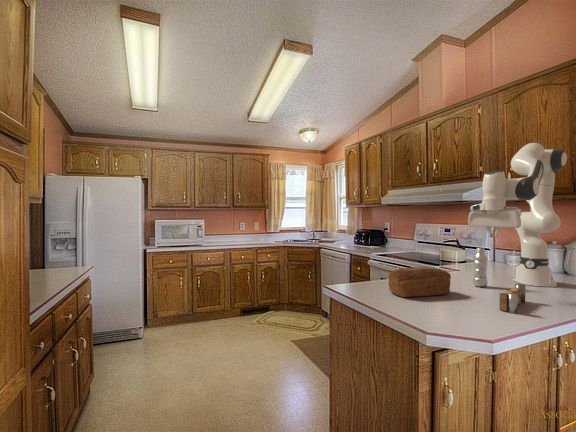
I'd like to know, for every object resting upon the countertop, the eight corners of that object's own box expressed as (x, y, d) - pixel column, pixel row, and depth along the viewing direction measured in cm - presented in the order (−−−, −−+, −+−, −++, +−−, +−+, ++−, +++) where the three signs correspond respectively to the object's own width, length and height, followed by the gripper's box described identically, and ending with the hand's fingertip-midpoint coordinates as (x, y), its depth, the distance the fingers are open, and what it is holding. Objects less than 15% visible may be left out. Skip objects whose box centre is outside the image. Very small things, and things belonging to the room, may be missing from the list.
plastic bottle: (483, 285, 161) (483, 247, 161) (490, 288, 155) (490, 248, 154) (470, 284, 162) (470, 247, 162) (476, 288, 155) (477, 248, 155)
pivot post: (516, 300, 134) (516, 283, 133) (526, 302, 131) (526, 284, 131) (513, 301, 131) (513, 284, 131) (523, 303, 128) (523, 285, 128)
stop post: (509, 310, 119) (509, 292, 119) (518, 312, 116) (518, 294, 116) (506, 312, 117) (506, 294, 117) (515, 314, 115) (516, 295, 115)
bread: (455, 296, 140) (455, 269, 140) (402, 300, 134) (402, 272, 133) (434, 288, 154) (434, 264, 154) (384, 292, 147) (384, 266, 147)
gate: (514, 301, 130) (514, 286, 130) (521, 302, 128) (521, 287, 128) (499, 309, 119) (499, 293, 119) (506, 311, 117) (506, 294, 117)
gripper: (523, 206, 132) (523, 238, 132) (472, 207, 148) (472, 235, 148) (518, 206, 128) (518, 239, 128) (466, 206, 144) (466, 236, 145)
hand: (493, 237), depth 138 cm, fingers closed
